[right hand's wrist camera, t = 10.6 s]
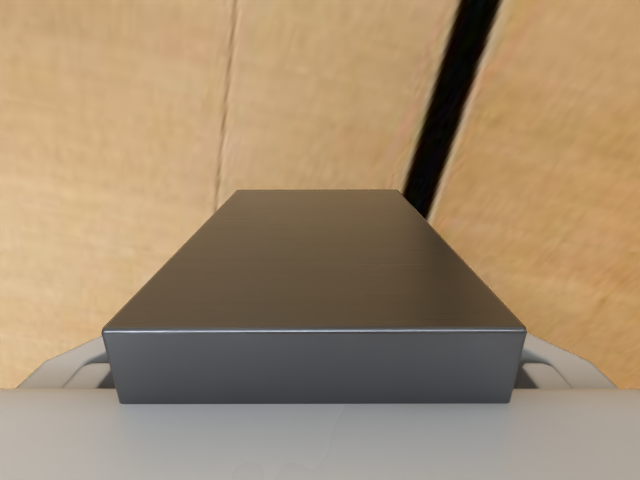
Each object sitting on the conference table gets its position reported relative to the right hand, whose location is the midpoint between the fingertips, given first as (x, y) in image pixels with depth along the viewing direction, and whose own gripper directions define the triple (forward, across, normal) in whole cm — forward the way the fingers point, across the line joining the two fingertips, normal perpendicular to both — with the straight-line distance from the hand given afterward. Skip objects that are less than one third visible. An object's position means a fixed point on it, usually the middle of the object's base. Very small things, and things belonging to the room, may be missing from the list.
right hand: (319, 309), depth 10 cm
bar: (+3, 0, -9) cm, 9 cm away
